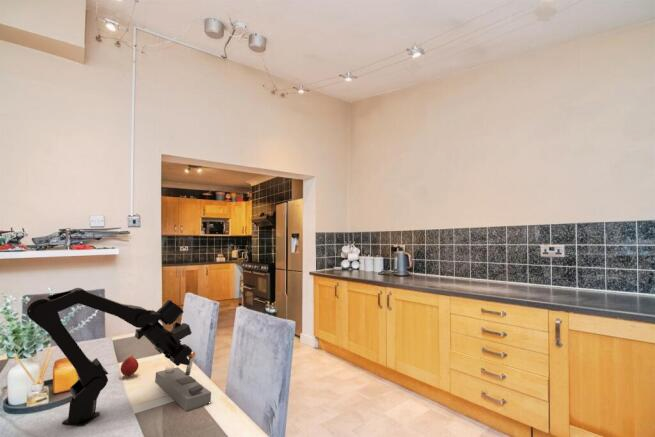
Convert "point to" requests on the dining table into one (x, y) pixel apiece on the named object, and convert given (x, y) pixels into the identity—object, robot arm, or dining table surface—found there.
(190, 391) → the rocker
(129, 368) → the onion
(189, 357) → the toggle lever
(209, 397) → the switch panel
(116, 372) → the dining table surface
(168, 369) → the push button
